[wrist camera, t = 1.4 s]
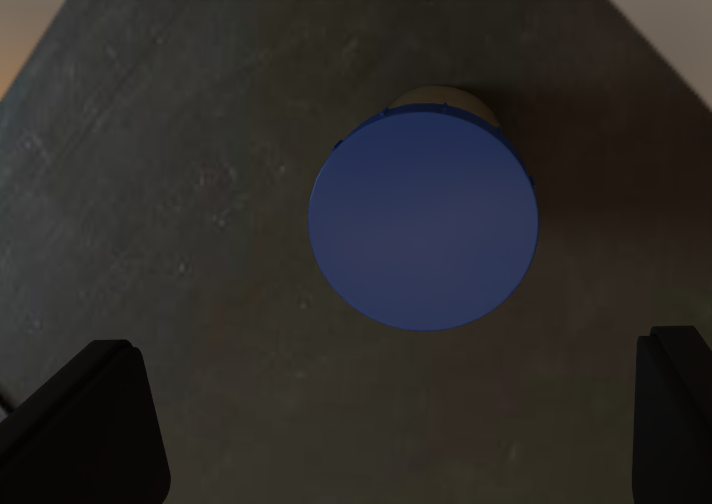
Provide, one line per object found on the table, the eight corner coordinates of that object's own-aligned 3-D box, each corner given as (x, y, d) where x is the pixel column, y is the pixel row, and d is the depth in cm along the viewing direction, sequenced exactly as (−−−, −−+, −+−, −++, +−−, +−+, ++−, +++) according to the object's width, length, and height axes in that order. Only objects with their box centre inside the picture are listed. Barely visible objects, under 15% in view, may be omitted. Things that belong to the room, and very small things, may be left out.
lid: (531, 93, 20) (537, 101, 18) (535, 303, 22) (541, 329, 21) (307, 112, 21) (293, 122, 20) (332, 310, 24) (322, 334, 22)
